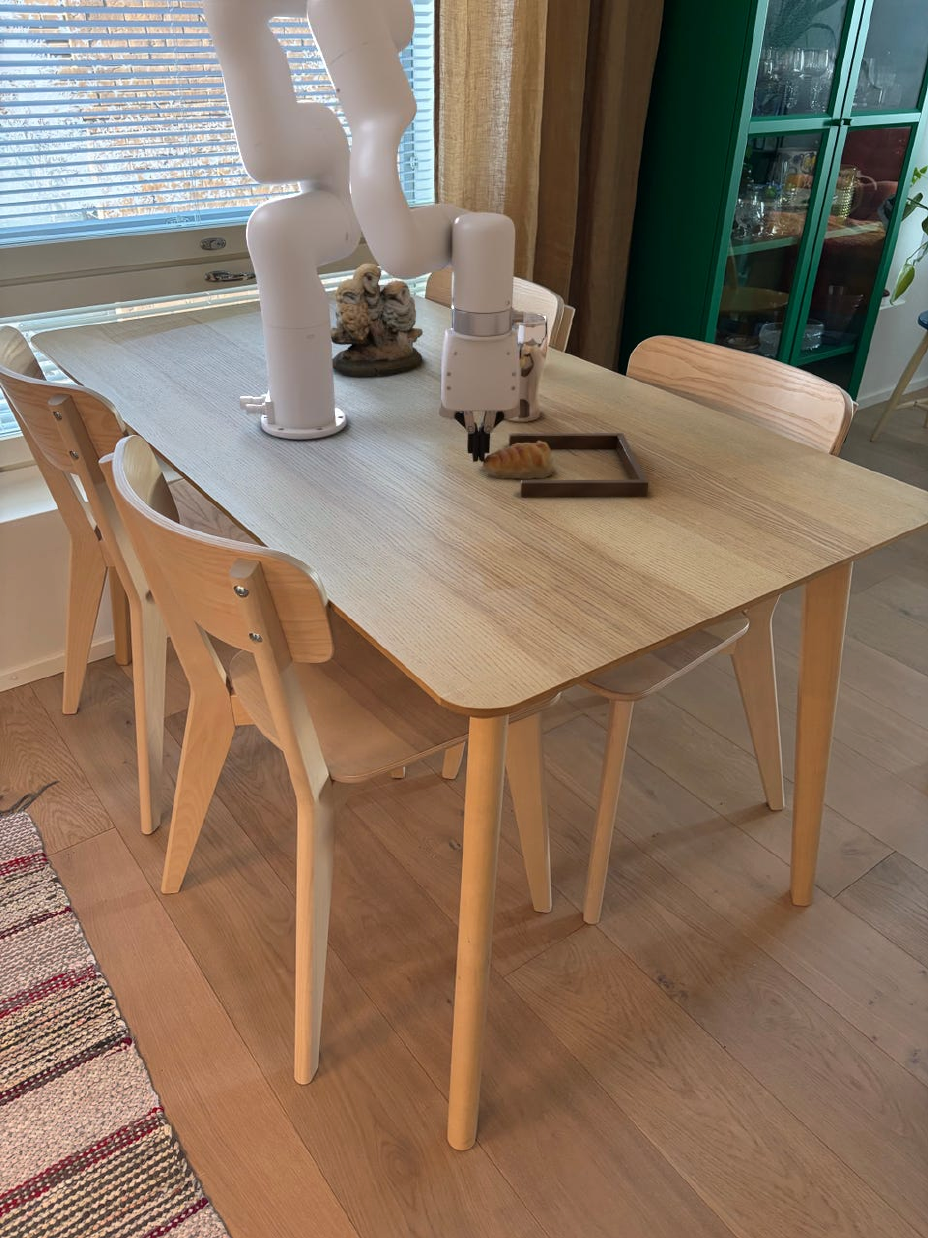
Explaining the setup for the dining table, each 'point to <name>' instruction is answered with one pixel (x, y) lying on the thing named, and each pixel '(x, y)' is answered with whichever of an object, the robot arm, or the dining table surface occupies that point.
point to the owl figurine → (374, 326)
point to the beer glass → (530, 363)
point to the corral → (585, 487)
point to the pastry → (521, 461)
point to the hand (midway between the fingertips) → (478, 457)
